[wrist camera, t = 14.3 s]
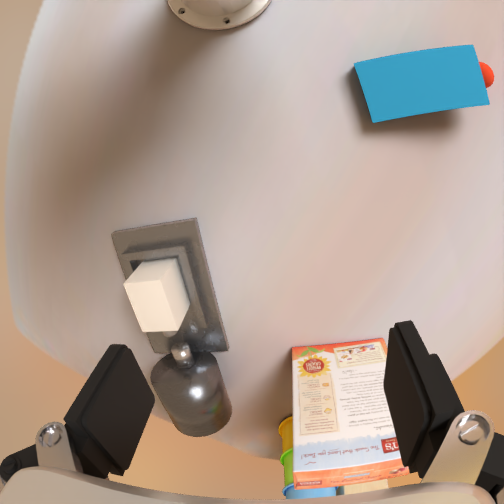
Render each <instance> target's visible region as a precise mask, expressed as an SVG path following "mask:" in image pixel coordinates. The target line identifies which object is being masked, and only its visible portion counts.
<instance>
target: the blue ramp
mask: <svg viewBox="0 0 504 504" xmlns="http://www.w3.org/2000/svg"><path fill="white" fill-rule="evenodd" d="M354 66H355V69H356V72H357V75H358V78H359V80H360V83H361V86H362V90H363V93H364V96H365V99H366V102H367V105H368V109H369V112H370V115H371V119H372V122H373V123H376V122H381V121H385V120H391V119H396V118H401V117H407V116H412V115H418V114H424V113H430V112H436V111H443V110H450V109H457V108H465V107H473V106H482V105H489V104H490V103H489V99H488V95H487V90H486V88H487V87H490V86H491V85H492V84H493V81H494V74H493V71H492V70H491V68H490V67H489V66H488V65H487V64H485V63H482V62H478V58H477V55H476V52H475V49H474V46H473V45H462V46H452V47H443V48H435V49H427V50H420V51H414V52H407V53H402V54H396V55H391V56H385V57H380V58H375V59H371V60H366V61H362V62H357V63H354Z"/></svg>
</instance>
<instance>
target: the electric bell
mask: <svg viewBox="0 0 504 504" xmlns="http://www.w3.org/2000/svg"><path fill="white" fill-rule="evenodd" d="M111 235H112V239H113V242H114V245H115V248H116V251H117V254H118V257H119V260H120V263H121V266H122V269H123V272H124V275H125V278H126V280H127V279H128V278H129V277H130V276H131V274H132V273H133V272H134V271H135V270H136V269H137V267H138V266H139V265H140V264H141V263H142V262H146V261H153V260H161V259H168V258H175V257H176V258H177V261H178V265H179V268H180V272H181V275H182V278H183V282H184V285H185V288H186V292H187V295H188V298H189V301H190V306H189V308H188V310H187V313H186V315H185V317H184V319H183V321H182V323H181V326H180V328H179V330H178V332H177V333H176V334H175V335H173V336H170V337H166V336H164V334H163V332H162V331H158V332H146V333H147V335H148V338H149V340H150V343H151V345H152V347H153V350H154V352H155V353H170V354H168V355H166V356H165V357H163V358H162V359H161V360H160V361H158V363H157V364H156V365H155V366H154V368H153V370H152V372H151V383H152V385H153V387H154V389H155V391H156V393H157V395H158V396H159V398H160V400H161V402H162V404H163V406H164V408H165V409H166V411H167V413H168V415H169V417H170V418H171V420H172V422H173V424H174V425H175V427H176V428H177V429H178V430H179V431H180V432H181V433H183V434H186V435H188V436H193V437H202V436H208V435H211V434H213V433H215V432H217V431H219V430H220V429H222V428H223V427H224V426H225V425H226V424H227V423H228V421H229V420H230V417H231V414H232V406H231V402H230V400H229V397H228V394H227V391H226V388H225V385H224V382H223V379H222V376H221V373H220V370H219V367H218V364H217V360H216V358H215V357H214V356H213V355H212V354H211V353H210V352H214V351H228V349H229V344H228V341H227V337H226V333H225V330H224V326H223V322H222V318H221V315H220V311H219V307H218V303H217V299H216V295H215V292H214V288H213V284H212V280H211V276H210V272H209V268H208V264H207V260H206V256H205V251H204V247H203V243H202V239H201V235H200V230H199V226H198V222H197V218H191V219H185V220H179V221H172V222H166V223H160V224H154V225H149V226H143V227H137V228H131V229H126V230H120V231H115V232H113V233H112V234H111Z"/></svg>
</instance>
